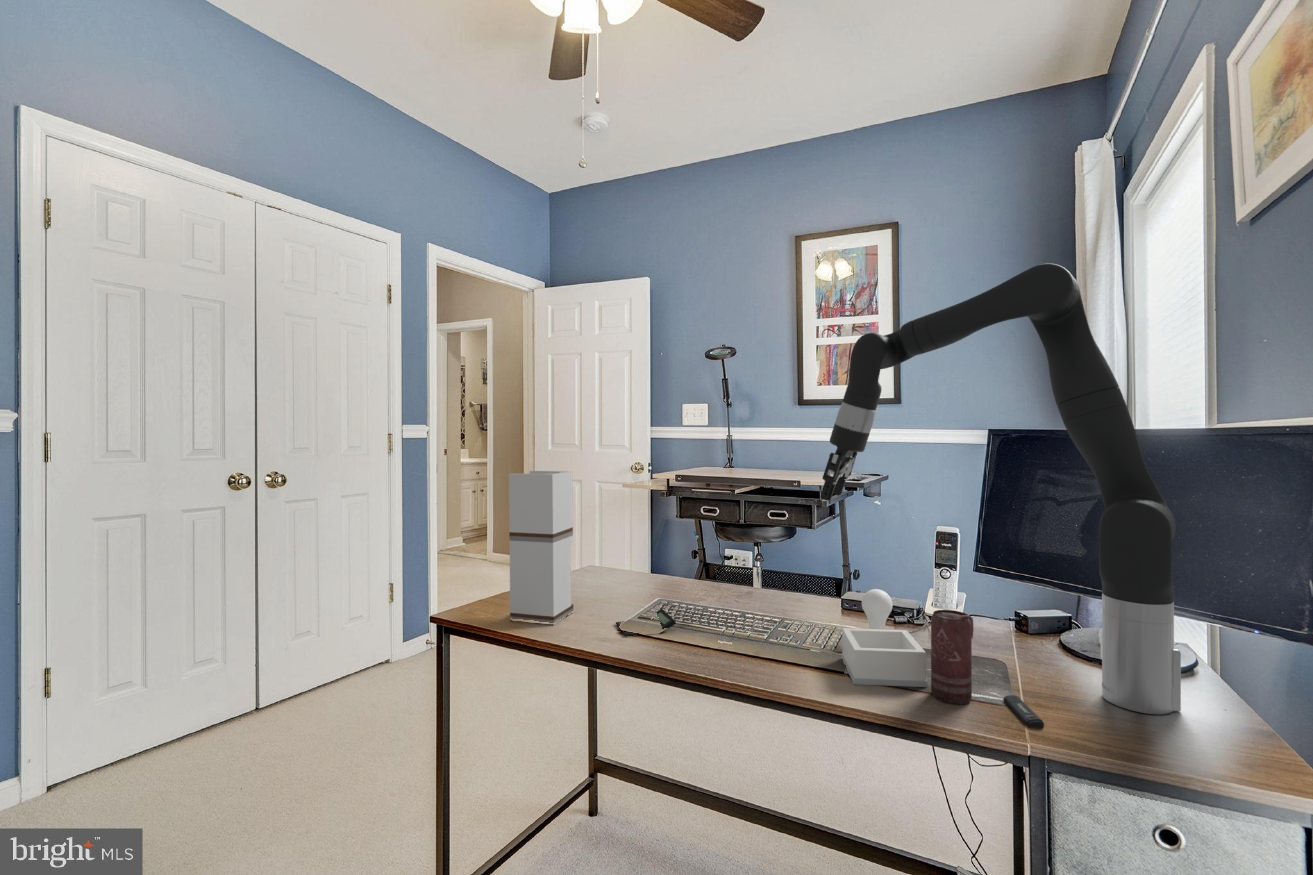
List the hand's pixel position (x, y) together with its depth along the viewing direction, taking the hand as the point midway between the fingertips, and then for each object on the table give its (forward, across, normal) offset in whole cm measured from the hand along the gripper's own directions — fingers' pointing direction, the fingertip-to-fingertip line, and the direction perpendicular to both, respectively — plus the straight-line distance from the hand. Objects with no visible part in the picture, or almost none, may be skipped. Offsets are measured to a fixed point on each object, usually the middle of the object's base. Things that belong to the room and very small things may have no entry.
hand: (830, 496), depth 136 cm
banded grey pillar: (+47, -24, +52) cm, 74 cm away
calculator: (+40, -19, +26) cm, 51 cm away
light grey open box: (+24, -19, -22) cm, 38 cm away
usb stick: (+17, -25, -44) cm, 53 cm away
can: (+20, -24, -34) cm, 46 cm away
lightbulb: (+26, -2, -19) cm, 32 cm away
